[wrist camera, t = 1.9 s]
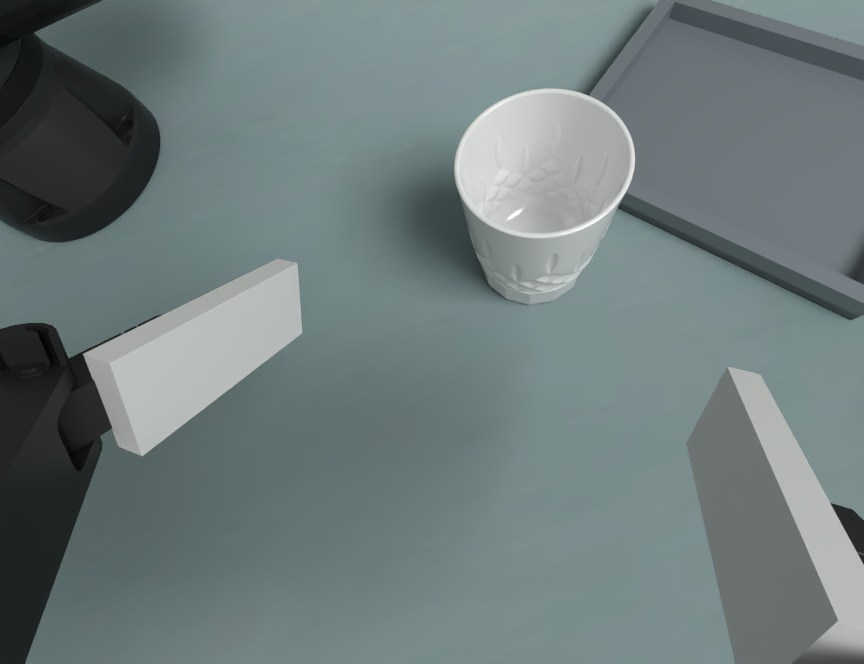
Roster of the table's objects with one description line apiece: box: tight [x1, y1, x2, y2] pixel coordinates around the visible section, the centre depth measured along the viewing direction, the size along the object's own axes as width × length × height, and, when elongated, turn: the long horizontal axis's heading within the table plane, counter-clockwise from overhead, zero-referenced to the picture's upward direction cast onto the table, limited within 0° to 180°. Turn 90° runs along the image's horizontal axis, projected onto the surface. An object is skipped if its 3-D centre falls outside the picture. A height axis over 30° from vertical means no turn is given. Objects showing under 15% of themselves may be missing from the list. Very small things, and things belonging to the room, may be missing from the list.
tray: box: [588, 0, 864, 320], centre depth 28 cm, size 20×16×2 cm
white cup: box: [454, 89, 635, 305], centre depth 24 cm, size 8×8×10 cm
